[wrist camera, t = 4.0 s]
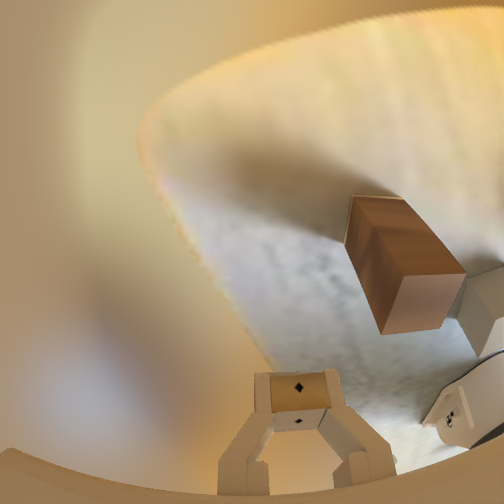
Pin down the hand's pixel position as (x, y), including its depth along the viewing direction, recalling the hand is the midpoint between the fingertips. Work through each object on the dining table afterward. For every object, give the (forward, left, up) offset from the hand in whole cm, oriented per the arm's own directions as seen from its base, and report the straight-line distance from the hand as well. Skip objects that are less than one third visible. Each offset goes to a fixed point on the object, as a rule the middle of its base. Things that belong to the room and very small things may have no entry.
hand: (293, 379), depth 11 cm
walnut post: (0, -7, -13) cm, 15 cm away
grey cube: (-8, -23, -13) cm, 28 cm away
